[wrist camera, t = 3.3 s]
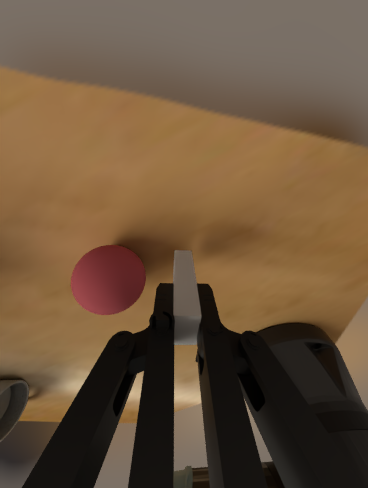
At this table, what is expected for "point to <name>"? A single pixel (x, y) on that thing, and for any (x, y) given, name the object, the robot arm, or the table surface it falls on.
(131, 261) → the ball
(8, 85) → the table surface
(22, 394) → the ceramic mug
